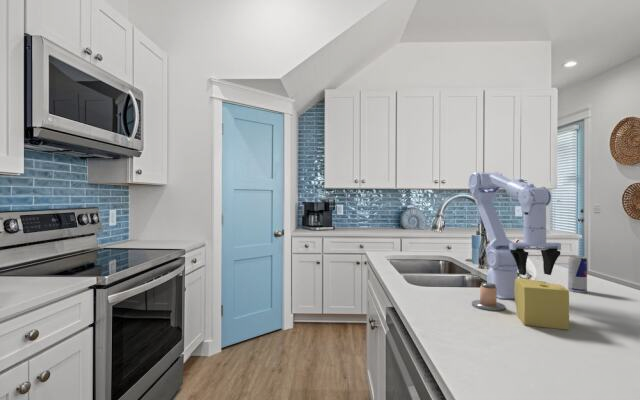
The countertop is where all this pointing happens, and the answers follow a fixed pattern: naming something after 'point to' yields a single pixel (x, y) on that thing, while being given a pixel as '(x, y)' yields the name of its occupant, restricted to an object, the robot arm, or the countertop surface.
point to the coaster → (495, 308)
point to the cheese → (542, 304)
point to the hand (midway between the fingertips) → (535, 274)
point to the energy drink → (577, 274)
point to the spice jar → (488, 294)
